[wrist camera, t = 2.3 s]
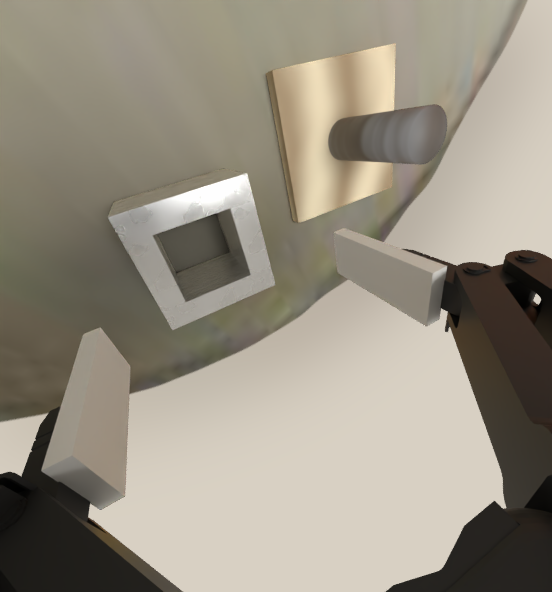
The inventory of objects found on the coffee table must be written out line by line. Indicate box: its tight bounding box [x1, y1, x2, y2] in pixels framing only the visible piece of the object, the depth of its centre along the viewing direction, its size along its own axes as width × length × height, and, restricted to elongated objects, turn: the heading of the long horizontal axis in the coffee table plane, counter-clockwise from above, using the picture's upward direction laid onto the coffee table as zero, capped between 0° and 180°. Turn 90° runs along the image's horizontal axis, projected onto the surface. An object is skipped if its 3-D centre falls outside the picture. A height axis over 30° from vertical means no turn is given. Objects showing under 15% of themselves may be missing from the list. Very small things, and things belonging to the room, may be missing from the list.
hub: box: [108, 168, 275, 330], centre depth 22 cm, size 9×9×6 cm
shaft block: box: [266, 43, 447, 223], centre depth 22 cm, size 12×12×10 cm
